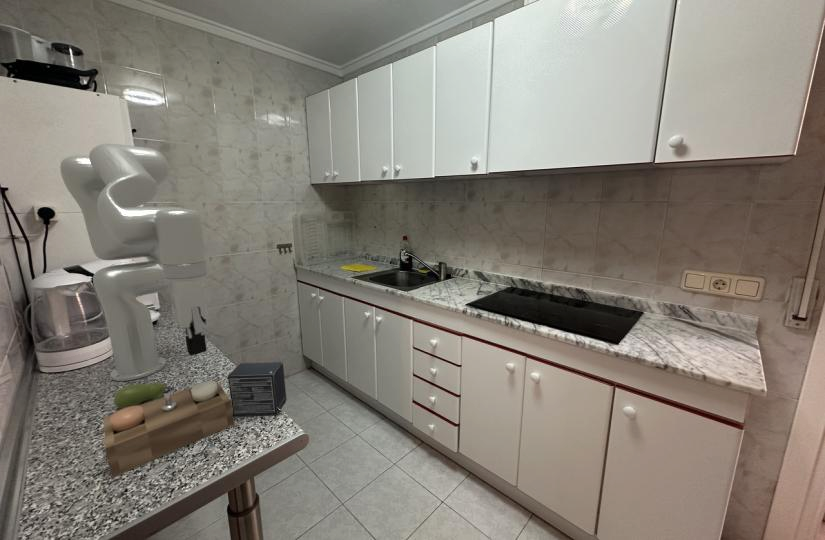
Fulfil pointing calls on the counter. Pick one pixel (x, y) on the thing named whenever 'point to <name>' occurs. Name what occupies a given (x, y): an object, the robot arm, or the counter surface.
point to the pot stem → (168, 400)
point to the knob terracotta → (127, 418)
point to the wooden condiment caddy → (166, 429)
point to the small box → (257, 389)
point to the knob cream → (204, 391)
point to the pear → (138, 394)
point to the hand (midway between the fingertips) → (197, 352)
